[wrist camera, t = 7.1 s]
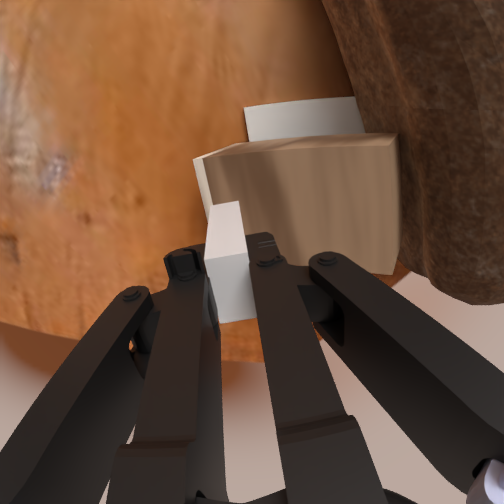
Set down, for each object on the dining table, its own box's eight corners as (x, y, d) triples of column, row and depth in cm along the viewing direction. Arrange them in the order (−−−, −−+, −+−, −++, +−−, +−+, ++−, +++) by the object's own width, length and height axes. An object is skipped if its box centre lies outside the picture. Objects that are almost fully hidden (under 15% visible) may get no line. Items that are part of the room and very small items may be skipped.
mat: (266, 252, 28) (267, 255, 27) (243, 107, 22) (243, 107, 22) (428, 222, 28) (431, 224, 27) (425, 96, 23) (429, 96, 22)
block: (216, 256, 23) (392, 275, 17) (192, 159, 20) (388, 145, 14) (252, 228, 27) (402, 237, 20) (235, 143, 24) (398, 132, 17)
